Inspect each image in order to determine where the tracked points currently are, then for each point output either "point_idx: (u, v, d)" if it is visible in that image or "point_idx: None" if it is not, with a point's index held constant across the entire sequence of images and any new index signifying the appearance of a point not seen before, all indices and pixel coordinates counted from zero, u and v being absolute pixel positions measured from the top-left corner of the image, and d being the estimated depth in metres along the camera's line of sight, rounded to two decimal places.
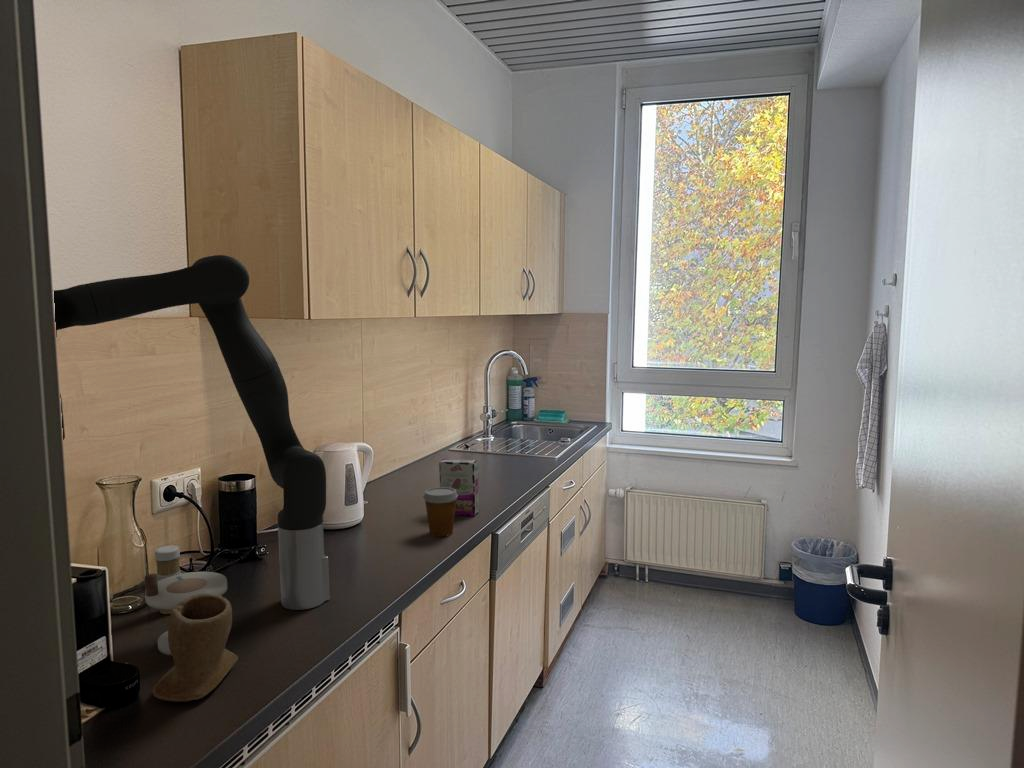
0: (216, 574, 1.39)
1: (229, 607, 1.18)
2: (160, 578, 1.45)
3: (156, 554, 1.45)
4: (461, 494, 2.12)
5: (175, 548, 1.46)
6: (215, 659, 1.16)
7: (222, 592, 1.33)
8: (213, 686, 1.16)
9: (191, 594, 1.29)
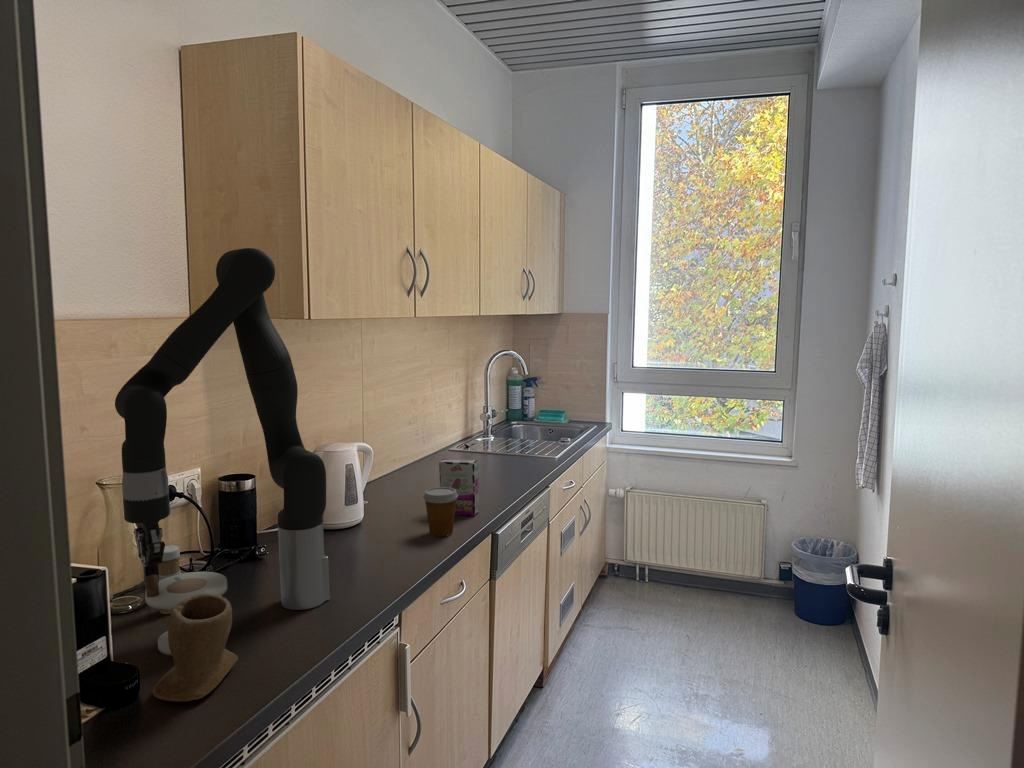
0: (214, 573, 1.39)
1: (229, 607, 1.18)
2: (160, 578, 1.45)
3: None
4: (461, 494, 2.12)
5: (175, 548, 1.46)
6: (215, 659, 1.16)
7: (224, 591, 1.33)
8: (213, 686, 1.16)
9: (194, 593, 1.29)
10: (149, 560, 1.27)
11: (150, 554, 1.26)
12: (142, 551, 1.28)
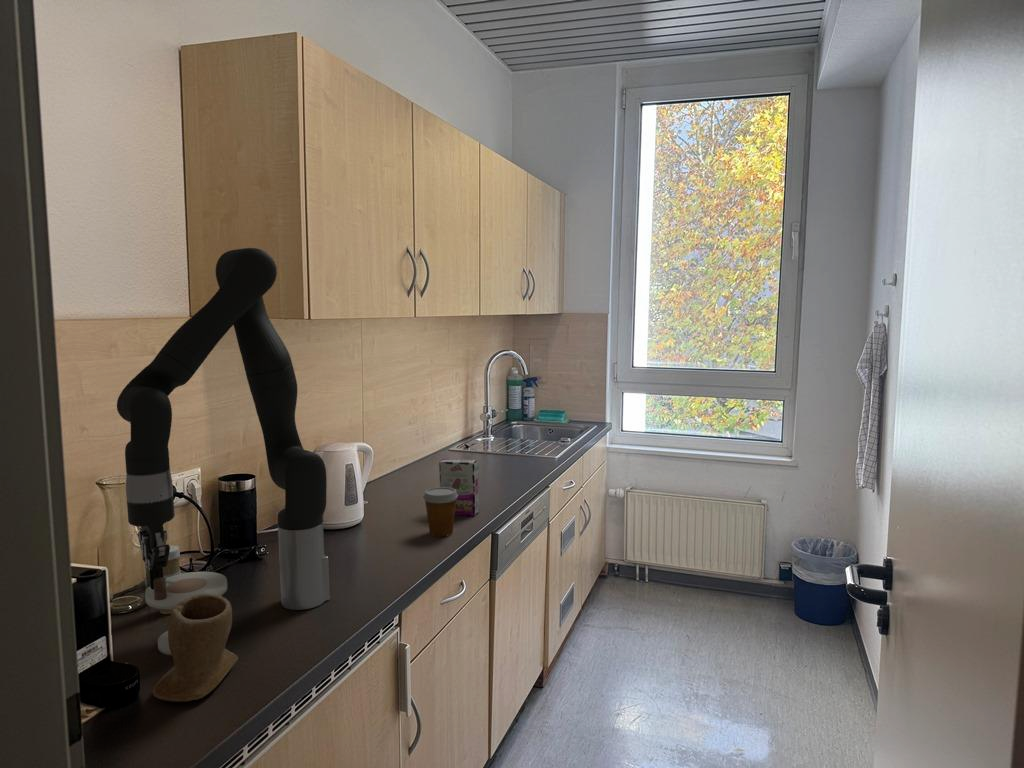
0: (202, 572, 1.40)
1: (229, 607, 1.18)
2: None
3: None
4: (461, 494, 2.12)
5: (175, 548, 1.46)
6: (215, 659, 1.16)
7: None
8: (213, 686, 1.16)
9: (204, 590, 1.31)
10: (154, 563, 1.25)
11: (155, 557, 1.24)
12: (147, 554, 1.27)
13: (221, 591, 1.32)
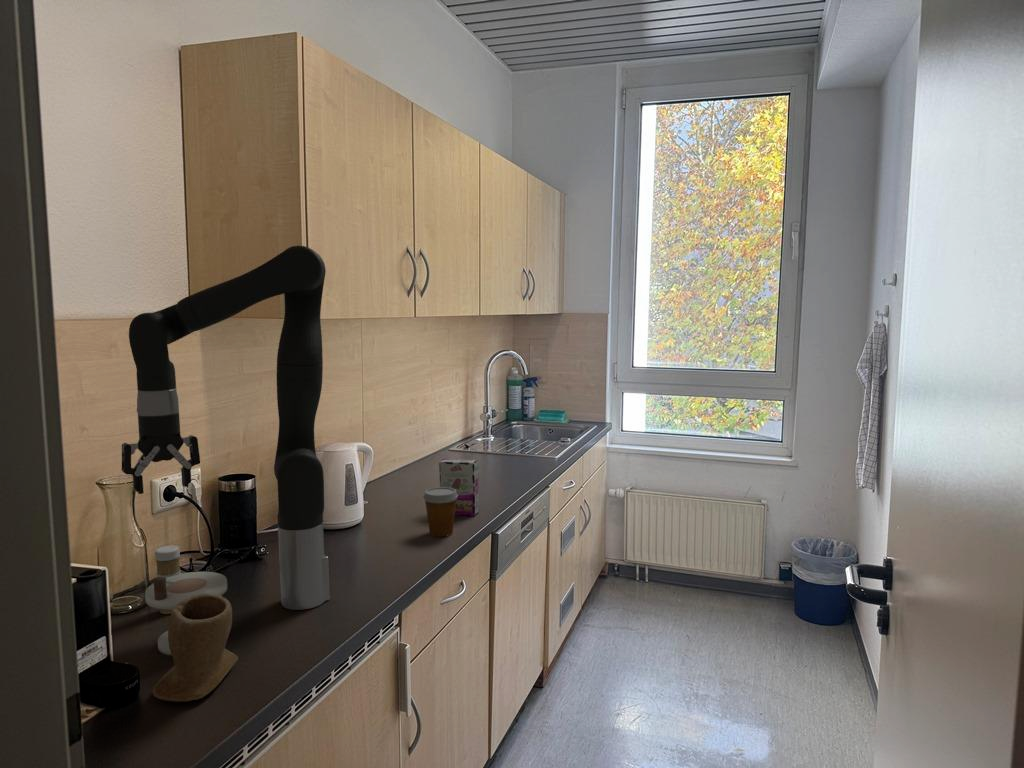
0: (202, 572, 1.40)
1: (229, 607, 1.18)
2: None
3: (156, 554, 1.45)
4: (461, 494, 2.12)
5: (175, 548, 1.46)
6: (215, 659, 1.16)
7: None
8: (213, 686, 1.16)
9: (204, 590, 1.31)
10: None
11: None
12: None
13: (221, 590, 1.32)
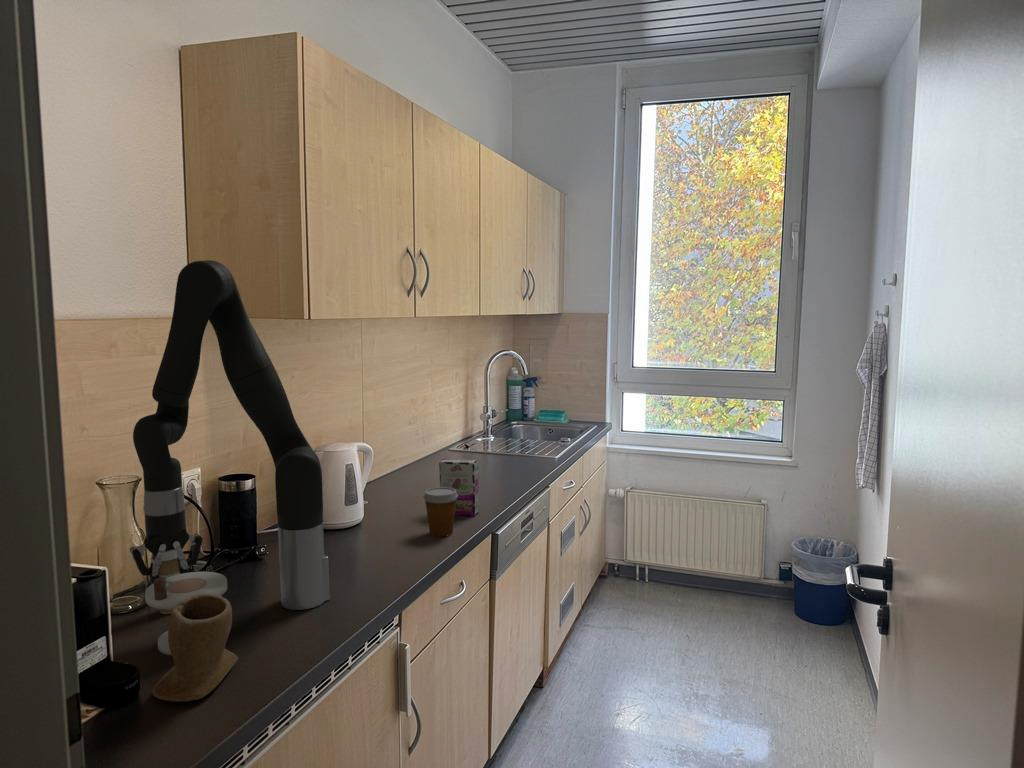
0: (202, 572, 1.40)
1: (229, 607, 1.18)
2: None
3: None
4: (461, 494, 2.12)
5: None
6: (215, 659, 1.16)
7: None
8: (213, 686, 1.16)
9: (204, 590, 1.31)
10: (136, 564, 1.44)
11: None
12: None
13: (221, 590, 1.32)
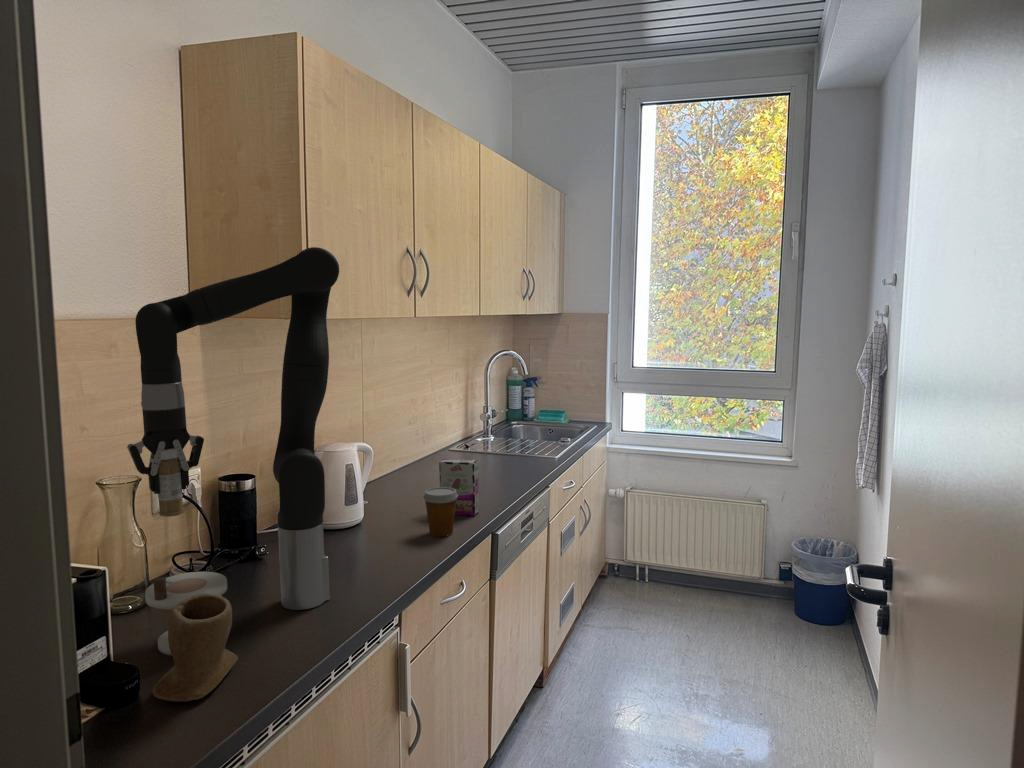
0: (202, 572, 1.40)
1: (229, 607, 1.18)
2: (159, 478, 1.38)
3: None
4: (461, 494, 2.12)
5: None
6: (215, 659, 1.16)
7: None
8: (213, 686, 1.16)
9: (204, 590, 1.31)
10: (134, 463, 1.36)
11: (130, 454, 1.36)
12: None
13: (221, 590, 1.32)
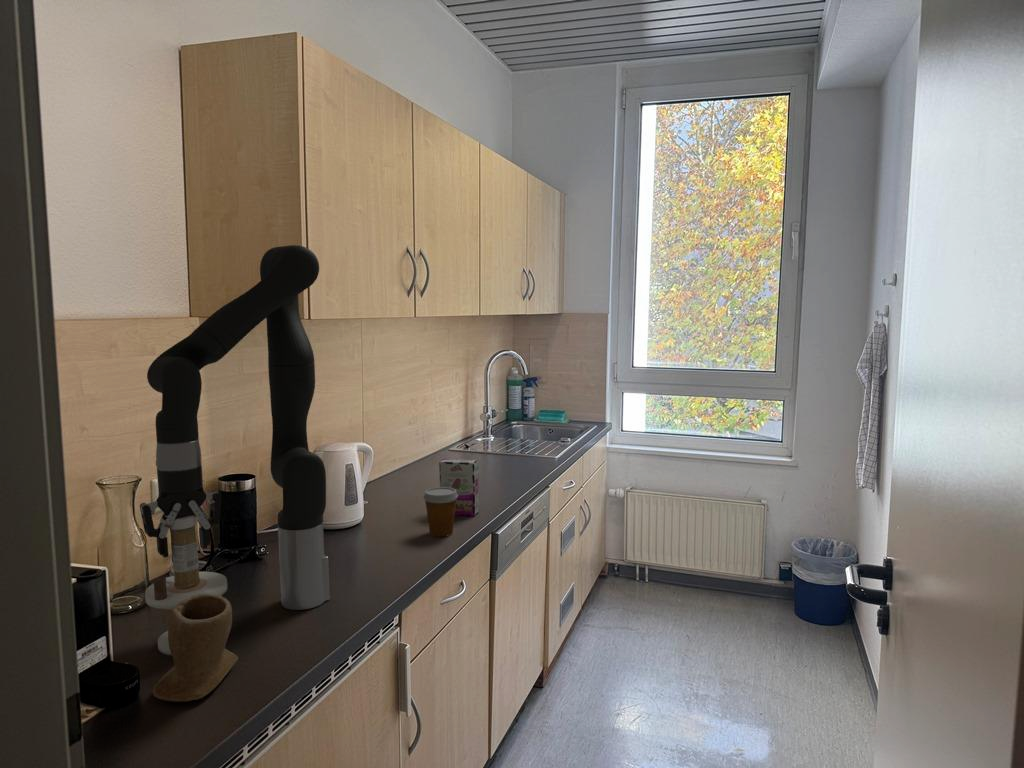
0: (202, 572, 1.40)
1: (229, 607, 1.18)
2: (175, 549, 1.30)
3: None
4: (461, 494, 2.12)
5: (191, 516, 1.31)
6: (215, 659, 1.16)
7: None
8: (213, 686, 1.16)
9: (204, 590, 1.31)
10: (143, 523, 1.28)
11: (141, 514, 1.28)
12: None
13: (221, 590, 1.32)
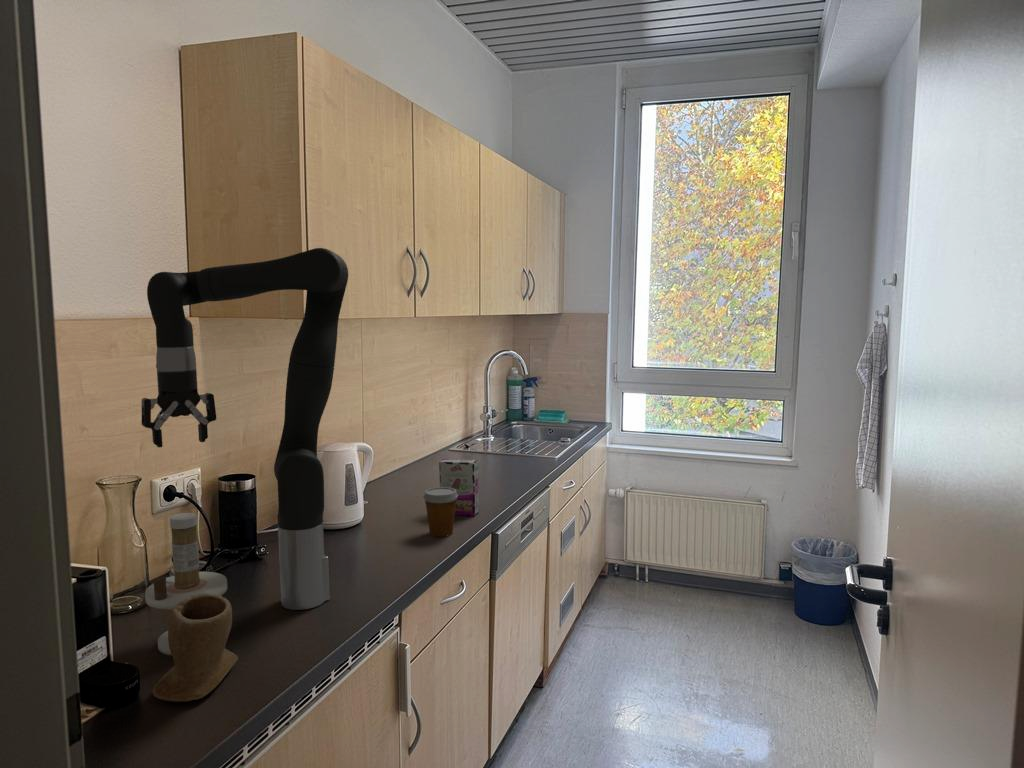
0: (202, 572, 1.40)
1: (229, 607, 1.18)
2: (175, 548, 1.30)
3: (171, 521, 1.30)
4: (461, 494, 2.12)
5: (192, 516, 1.32)
6: (215, 659, 1.16)
7: None
8: (213, 686, 1.16)
9: (204, 590, 1.31)
10: None
11: None
12: None
13: (221, 590, 1.32)
